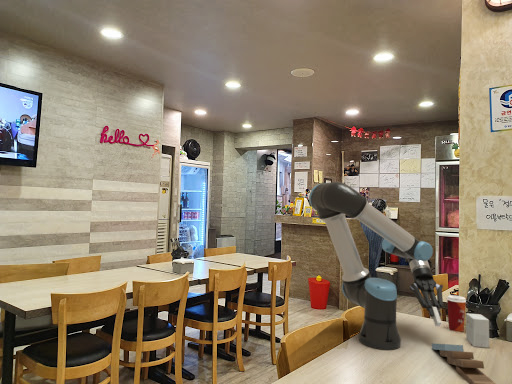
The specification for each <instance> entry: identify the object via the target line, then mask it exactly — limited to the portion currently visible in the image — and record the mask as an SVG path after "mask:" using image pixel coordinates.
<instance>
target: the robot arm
mask: <svg viewBox="0 0 512 384" xmlns="http://www.w3.org/2000/svg"><path fill="white" fill-rule="evenodd" d="M308 196H309V197H308V200H309V204H310V206H311V207H312V209H314V210H315V211H316V212H317V215H318V218H319V220H321V221H323V222H324V223H325V225H326V229H327V231H328V233H329V234H328V235H329V237H330V240H331V242H332V246H333V248H334V250H335V254H336V256H337V259H338V261H339V264H340V266H341V270H342V272H343V274H342V275H341V279H342V283H341V292H342V293H343V295H344V297H345V298H346V299H347V300H348V301H350V302H351V303H353V304H355V305H357V306H359V307H362V308H364V310H363V311H364V313H363V315H364V316H363V317H364V318H363V323H362V324H361V325H362V326H361V329H360V330H359V335H358V340H359V343H361V344H363V345H365V346H366V347H367V346H368V347H370V348H372V349H378V350H397V349H399V348H401V341H402V339H401V336H400V332H399V330H398V325H397V301H398V299H397V298H398V294H397V293H398V292H397V286H396V284H395V283H393V282H392V281H390V280H388V279H383V278H380V277H372V276H371V273H370V271H369V269H368V268H366V267H364V265H363V263H362V262H363V261H362V259H361V256H360V253H359V250H358V248H357V246H356V242H355V239H354V237H353V234H352V231H351V229H350V226H349V224H348V221H347V219H346V218H347V217H348V218H351V219H356V220H357V221H359V222H360V223H362V224H363V225H365V226H366V227H367V228H369V229H370V230H371V231H373V232H374V233H376V234H377V235H379V236H380V237H382V238H383V240H382V242H381V248H382V250H383V251H384V252H386V253H388V254H391V255H393V256H397V257H400V258H402V259H405V260H407V262H408V264H409V267H410V272H411V274H412V278H413V281H414V282H413V283H411V284H410V286H409V289H410V290H411V291H412V292H413V293H414V296H415V297H416V299H417V301H418V303H419V304H420V306H421V308H423V309H426V311H427V312H428V314H429V316H430V317H431V318H432V320H433V324H434V327H440V326H441V325H442V319H441V316H442V313H441V309H442V307H444V302H443V301H444V299H443V288H444V285H443V284H438V283H437V282H436V280H434V276H433V272H432V270H431V267H430V264H429V260H430V259H431V258H432V256H433V254H434V250H433V247H432V245H431V244H430V243H429V242H426V241H424V240H419V239H418V238H416V237H415V236H413V235H412V234H411V233H409V232H408V230H406V229H404V228H403V227H402V226H400V225H399V224H397V223H396V222H395V221H394V220H392V219H391V218H389V217H388V216H387V215H385V214H384V213H383V212H381V211H380V210H378V209H377V208H376V207H374V206H373V205H372V204H370V203H369V202H368V198H367V197H366V196H364V195H363V194H362V193H360V192H359V191H357V190H356V189H354V188H353V187H351V186H350V185H347V184H346V183H344V182H340V181H333V182H322V183H319V184H316V185H315V186H314V187H313V188H312V189H311V191H310V193H309V195H308ZM346 216H347V217H346ZM435 291H436V293H435Z"/></svg>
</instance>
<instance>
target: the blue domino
mask: <svg viewBox="0 0 512 384" xmlns="http://www.w3.org/2000/svg"><path fill="white" fill-rule="evenodd" d="M431 350H434V351H437V350H439V351H440V350H446V351H462V352H465V351H464V345H463V344H450V343H449V344H448V343H447V344H446V343H434V342H433V343H431Z"/></svg>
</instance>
